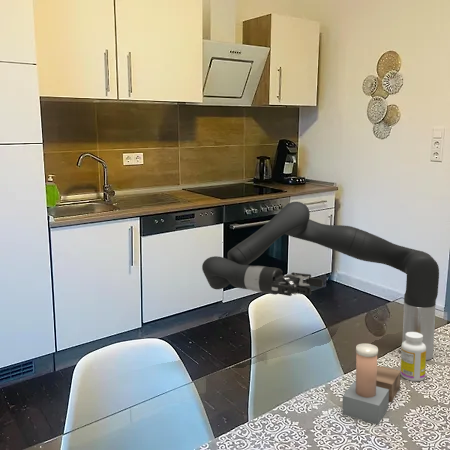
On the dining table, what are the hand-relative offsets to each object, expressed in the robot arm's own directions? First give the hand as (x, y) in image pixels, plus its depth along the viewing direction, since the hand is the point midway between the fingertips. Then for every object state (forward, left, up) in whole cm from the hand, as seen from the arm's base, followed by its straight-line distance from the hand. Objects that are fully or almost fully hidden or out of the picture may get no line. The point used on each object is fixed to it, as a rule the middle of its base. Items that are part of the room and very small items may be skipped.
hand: (316, 287), depth 128 cm
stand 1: (+4, +15, -29) cm, 33 cm away
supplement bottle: (-21, +21, -30) cm, 42 cm away
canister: (+4, +15, -24) cm, 29 cm away
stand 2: (-8, +15, -29) cm, 34 cm away
